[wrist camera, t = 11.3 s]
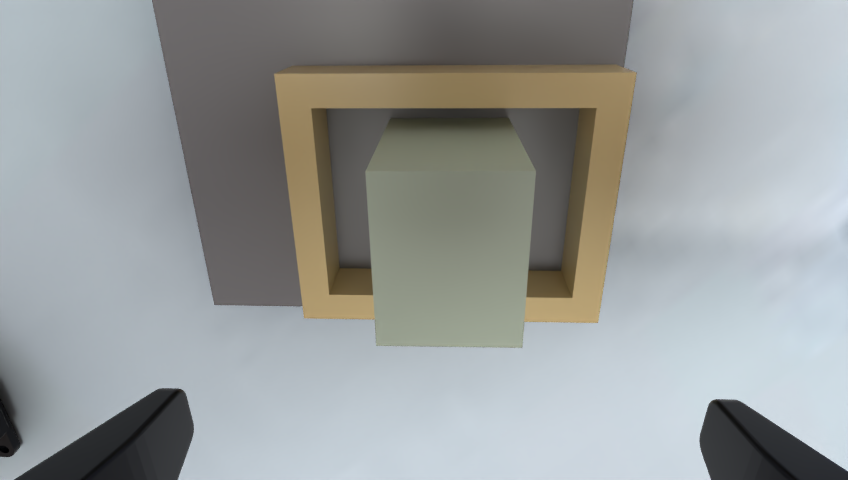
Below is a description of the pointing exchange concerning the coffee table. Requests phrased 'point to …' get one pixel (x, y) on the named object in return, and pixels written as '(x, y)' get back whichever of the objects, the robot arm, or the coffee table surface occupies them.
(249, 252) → the socket dock
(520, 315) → the block
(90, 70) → the coffee table surface
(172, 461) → the robot arm
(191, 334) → the coffee table surface
